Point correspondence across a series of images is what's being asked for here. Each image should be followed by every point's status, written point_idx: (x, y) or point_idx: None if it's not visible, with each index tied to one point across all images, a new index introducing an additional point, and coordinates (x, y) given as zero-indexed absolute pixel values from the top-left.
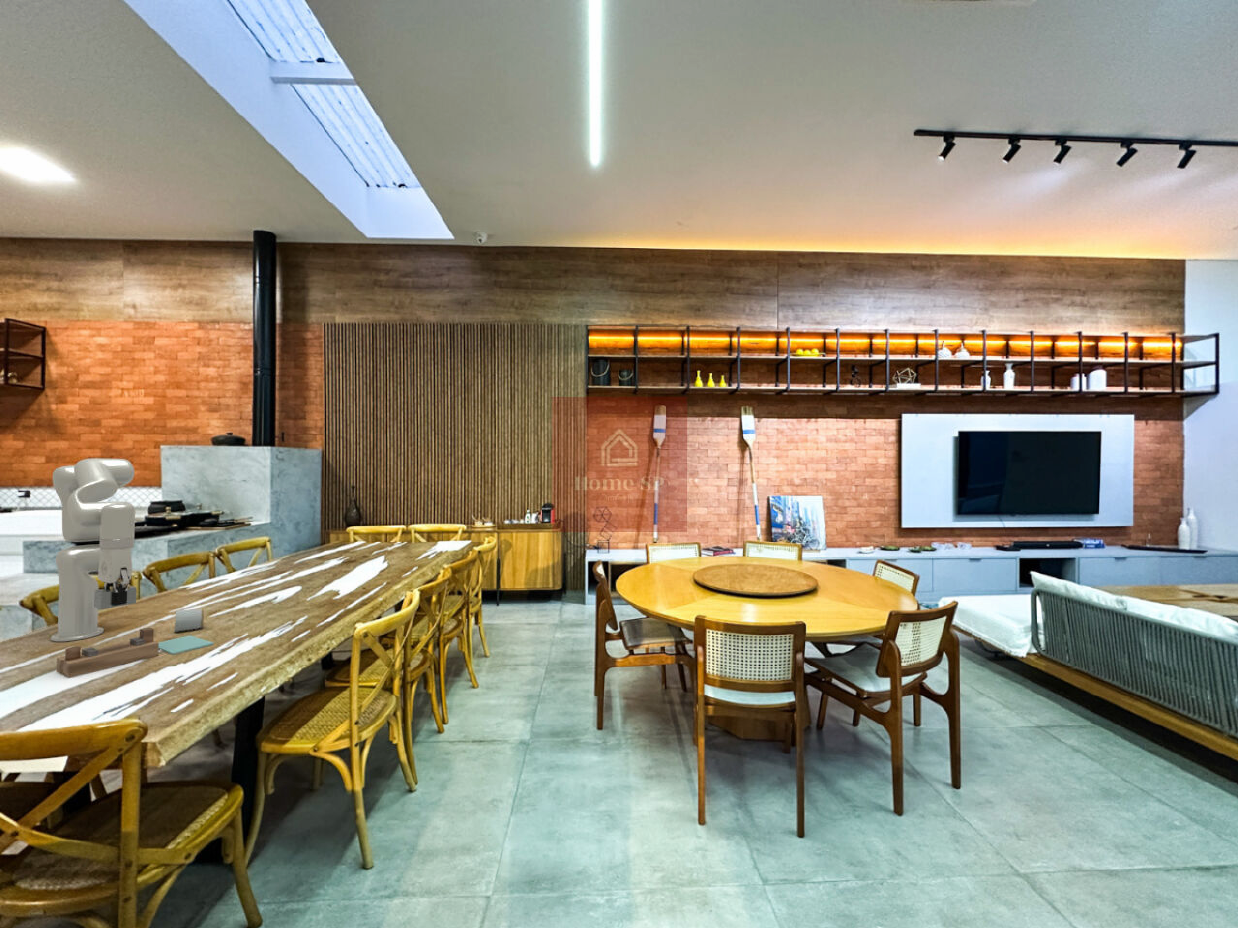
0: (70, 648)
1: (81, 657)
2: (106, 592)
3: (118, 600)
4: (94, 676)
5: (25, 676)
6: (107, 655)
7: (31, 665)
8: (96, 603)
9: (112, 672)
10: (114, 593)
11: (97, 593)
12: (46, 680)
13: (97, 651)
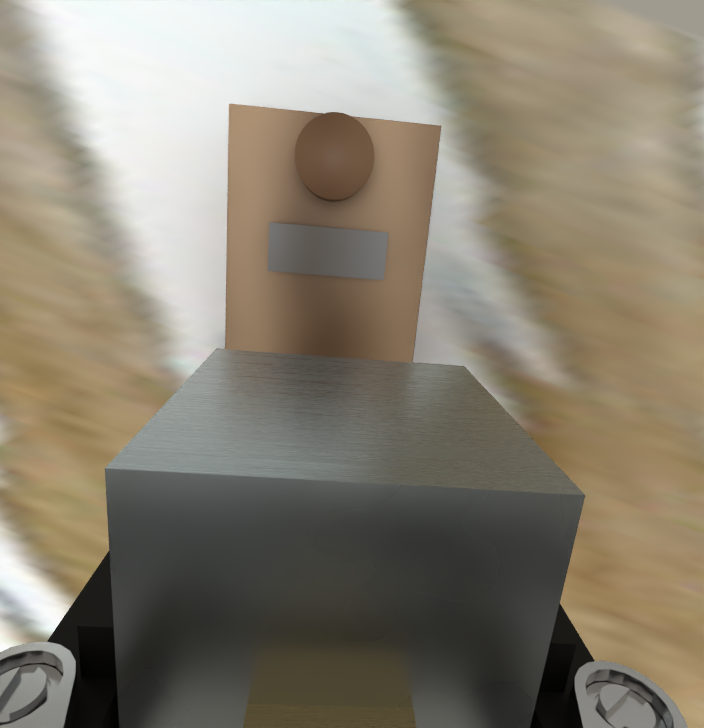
0: (346, 145)
1: (310, 201)
2: (117, 555)
3: (107, 564)
4: (149, 197)
5: (494, 27)
6: (226, 294)
7: (673, 128)
8: (381, 379)
9: (139, 267)
10: (87, 631)
11: (365, 456)
12: (308, 49)
13: (270, 267)
